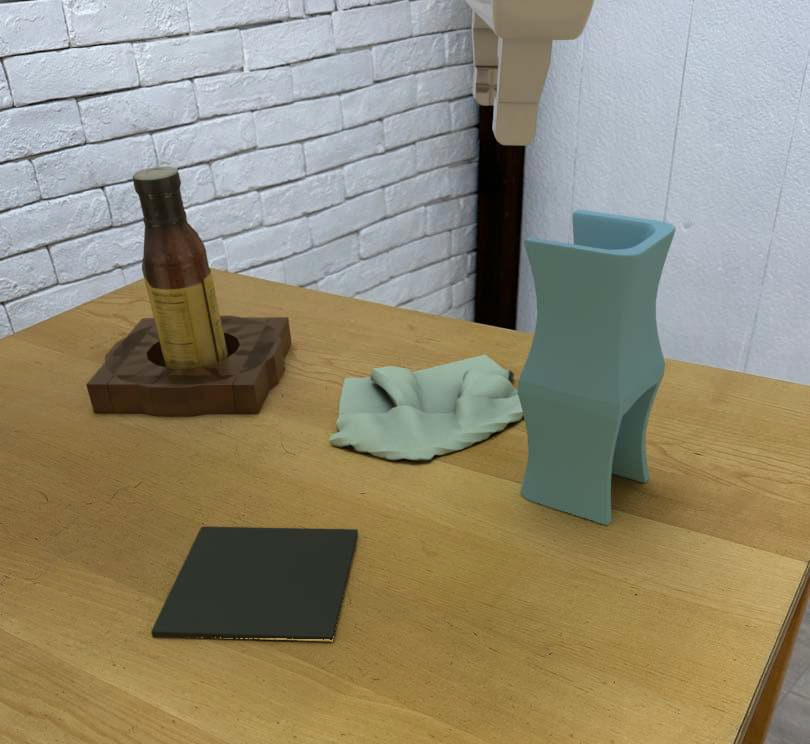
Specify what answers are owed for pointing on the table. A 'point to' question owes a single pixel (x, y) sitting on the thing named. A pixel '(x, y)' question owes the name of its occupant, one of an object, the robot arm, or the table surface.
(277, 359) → the bottle rack
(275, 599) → the mat
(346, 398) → the cloth
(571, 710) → the table surface
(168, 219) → the sauce bottle
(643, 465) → the teal waisted open shell
